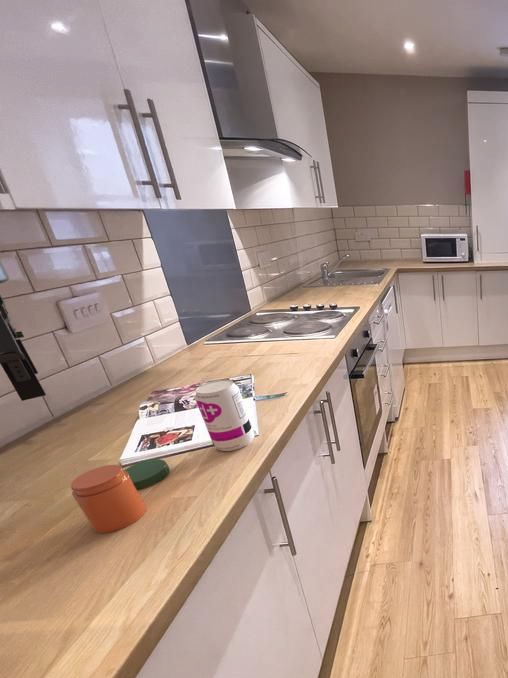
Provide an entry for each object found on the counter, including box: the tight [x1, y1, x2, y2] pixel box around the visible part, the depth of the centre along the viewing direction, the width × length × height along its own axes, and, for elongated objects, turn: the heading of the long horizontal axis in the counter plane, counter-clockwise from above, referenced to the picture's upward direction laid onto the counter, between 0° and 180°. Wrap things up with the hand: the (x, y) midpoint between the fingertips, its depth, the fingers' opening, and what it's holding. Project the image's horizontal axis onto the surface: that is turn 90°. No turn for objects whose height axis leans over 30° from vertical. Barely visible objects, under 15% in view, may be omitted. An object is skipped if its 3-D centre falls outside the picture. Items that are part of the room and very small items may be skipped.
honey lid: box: [123, 458, 171, 491], centre depth 85 cm, size 8×8×2 cm
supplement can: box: [194, 379, 255, 452], centre depth 94 cm, size 8×8×15 cm
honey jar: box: [70, 464, 147, 534], centre depth 73 cm, size 7×7×10 cm
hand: (30, 385), depth 70 cm, fingers open, 13 cm apart
